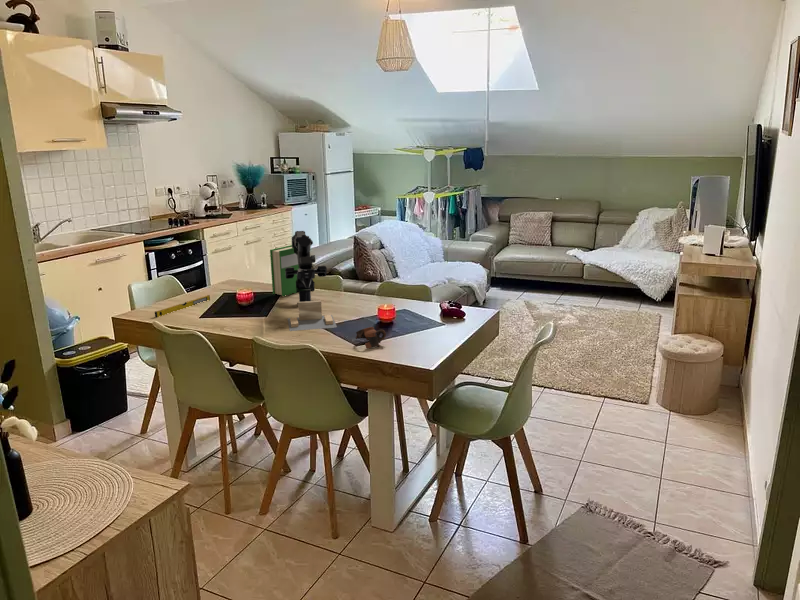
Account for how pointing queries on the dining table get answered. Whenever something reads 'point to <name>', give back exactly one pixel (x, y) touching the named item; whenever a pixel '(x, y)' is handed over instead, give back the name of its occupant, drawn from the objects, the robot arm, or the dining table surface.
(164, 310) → the spirit level
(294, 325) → the plank mat
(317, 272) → the robot arm
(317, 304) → the birch plank
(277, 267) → the hardback book
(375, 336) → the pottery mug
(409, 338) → the dining table surface
